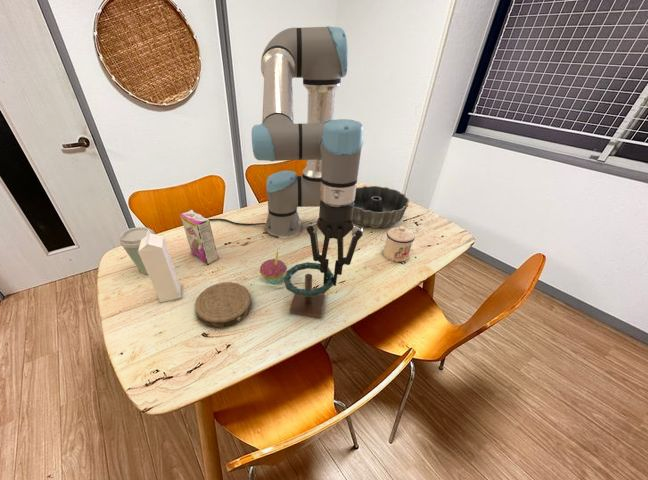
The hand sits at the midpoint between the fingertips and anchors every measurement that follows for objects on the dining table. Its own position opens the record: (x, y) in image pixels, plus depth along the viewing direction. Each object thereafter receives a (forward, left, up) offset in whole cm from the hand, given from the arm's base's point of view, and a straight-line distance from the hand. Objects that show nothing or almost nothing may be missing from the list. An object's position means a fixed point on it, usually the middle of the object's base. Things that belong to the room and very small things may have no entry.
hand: (330, 281), depth 75 cm
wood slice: (-30, -6, -10) cm, 32 cm away
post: (-6, 0, -10) cm, 12 cm away
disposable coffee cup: (-63, +6, -10) cm, 64 cm away
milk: (-49, -4, -10) cm, 50 cm away
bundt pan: (+13, +58, -10) cm, 60 cm away
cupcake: (-19, +9, -10) cm, 23 cm away
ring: (-6, 0, 0) cm, 6 cm away
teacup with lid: (+22, +32, -10) cm, 40 cm away
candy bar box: (-48, +17, -10) cm, 52 cm away
